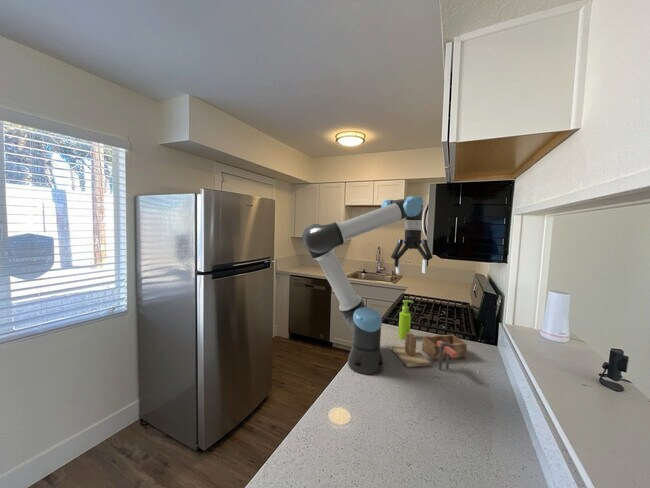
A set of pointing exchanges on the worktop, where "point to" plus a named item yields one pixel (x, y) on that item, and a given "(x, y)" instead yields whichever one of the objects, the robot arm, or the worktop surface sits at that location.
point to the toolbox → (437, 352)
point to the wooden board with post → (410, 352)
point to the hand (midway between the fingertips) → (410, 273)
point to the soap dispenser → (404, 320)
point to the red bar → (448, 350)
